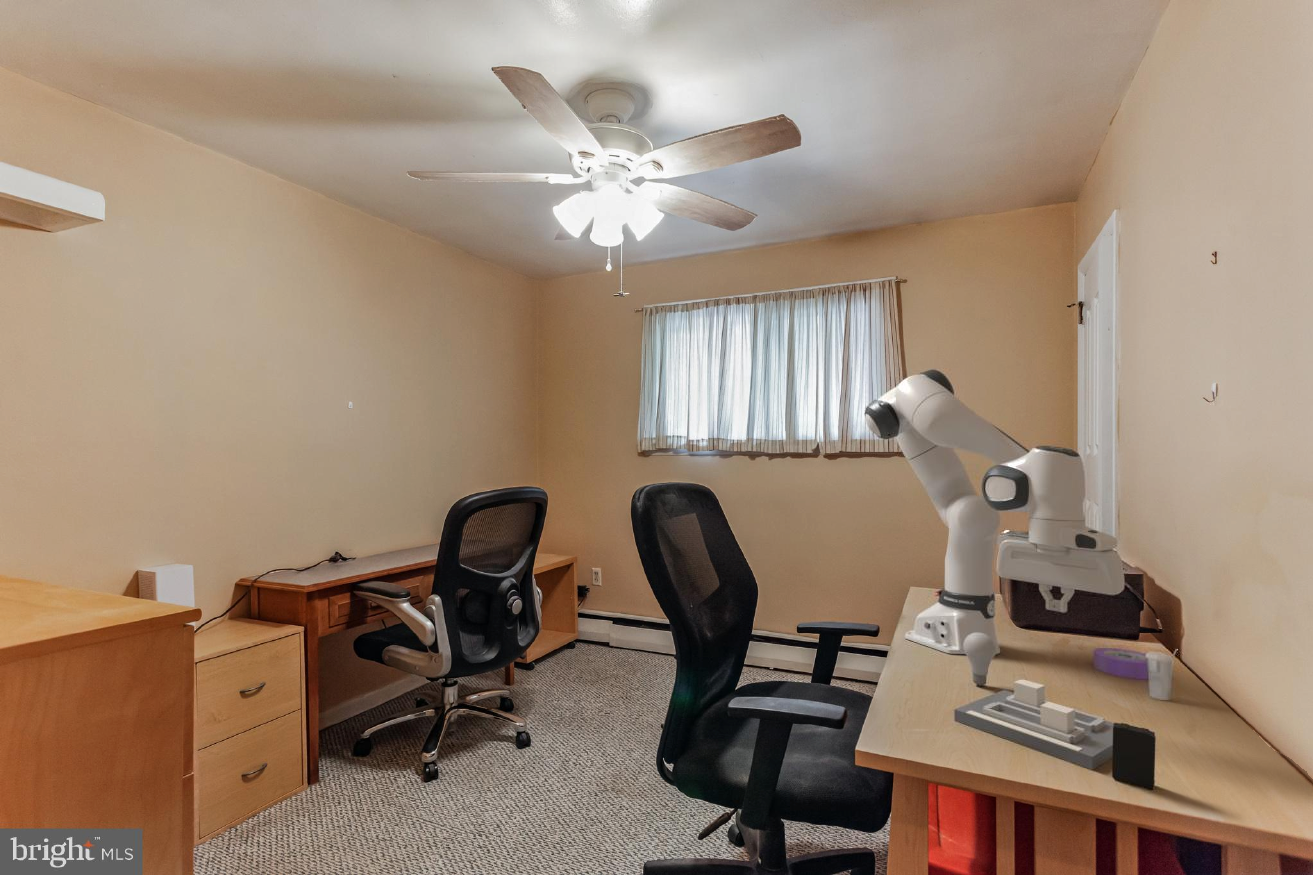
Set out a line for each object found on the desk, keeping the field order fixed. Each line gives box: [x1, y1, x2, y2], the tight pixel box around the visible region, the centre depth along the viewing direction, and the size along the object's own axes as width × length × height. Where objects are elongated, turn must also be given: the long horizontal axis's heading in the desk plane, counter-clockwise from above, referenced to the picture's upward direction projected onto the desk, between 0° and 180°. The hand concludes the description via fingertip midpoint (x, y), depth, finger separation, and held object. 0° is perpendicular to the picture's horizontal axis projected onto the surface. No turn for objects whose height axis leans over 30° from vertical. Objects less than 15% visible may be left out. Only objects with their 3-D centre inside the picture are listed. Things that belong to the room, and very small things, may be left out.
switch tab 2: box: [1041, 701, 1076, 734], centre depth 106 cm, size 4×3×4 cm
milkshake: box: [1145, 648, 1178, 701], centre depth 129 cm, size 4×5×10 cm
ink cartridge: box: [1111, 722, 1157, 791], centre depth 94 cm, size 5×2×8 cm, turn 50°
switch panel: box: [953, 689, 1114, 771], centre depth 112 cm, size 22×18×3 cm
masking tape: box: [1093, 647, 1148, 680], centre depth 146 cm, size 12×12×4 cm
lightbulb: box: [963, 633, 996, 687], centre depth 134 cm, size 6×6×11 cm
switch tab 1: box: [1013, 678, 1046, 709], centre depth 117 cm, size 4×3×4 cm
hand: (1056, 610), depth 116 cm, fingers closed
